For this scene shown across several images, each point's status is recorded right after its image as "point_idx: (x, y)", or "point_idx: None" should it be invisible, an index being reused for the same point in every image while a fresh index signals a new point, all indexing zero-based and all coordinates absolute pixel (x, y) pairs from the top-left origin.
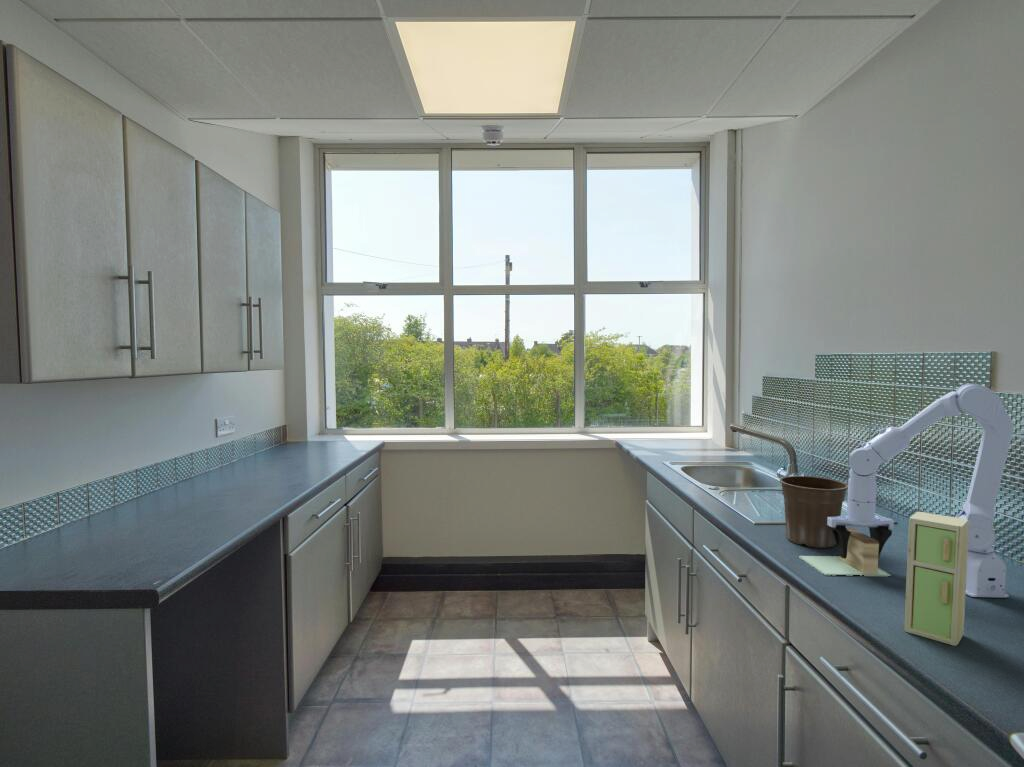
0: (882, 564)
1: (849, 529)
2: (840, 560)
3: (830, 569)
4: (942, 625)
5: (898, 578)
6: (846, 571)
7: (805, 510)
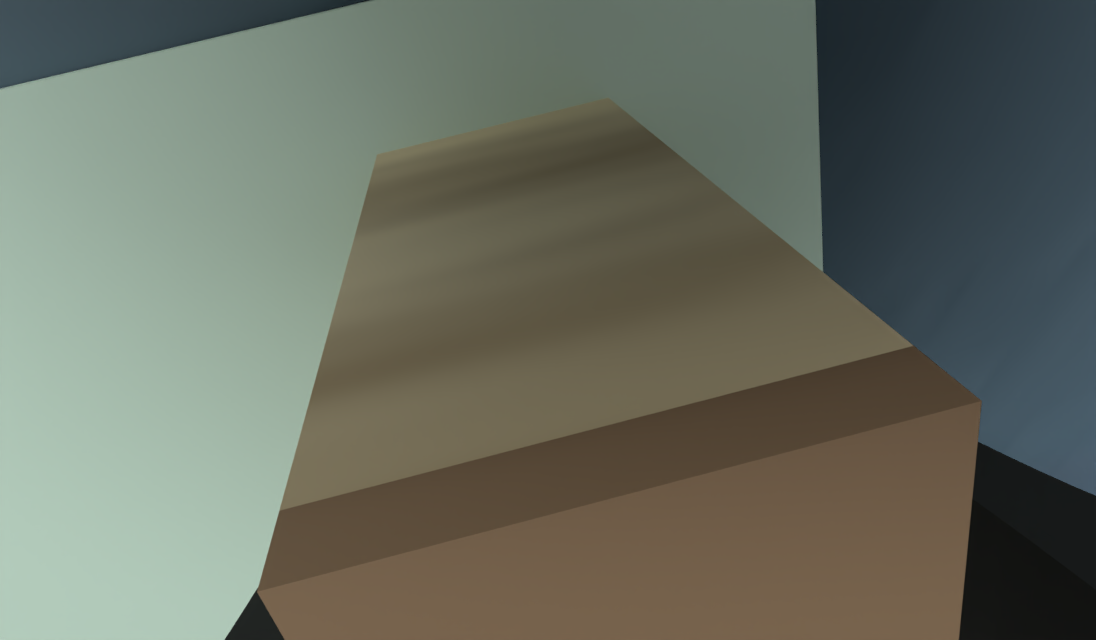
0: (1001, 140)
1: (686, 609)
2: None
3: (176, 634)
4: None
5: None
6: None
7: None
